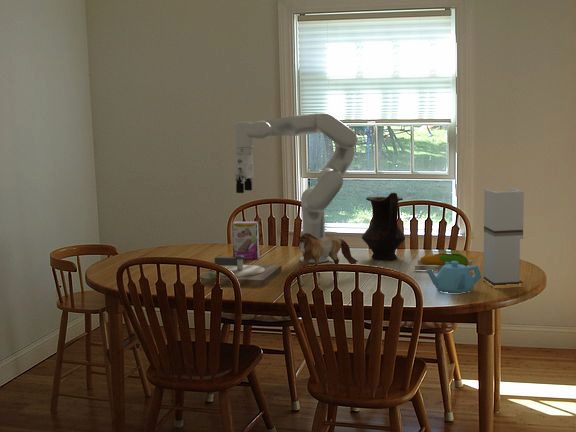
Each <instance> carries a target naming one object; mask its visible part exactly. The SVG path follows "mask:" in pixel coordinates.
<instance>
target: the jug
mask: <svg viewBox="0 0 576 432" xmlns="http://www.w3.org/2000/svg"><path fill="white" fill-rule="evenodd" d="M365 200H367V201H370V204H371V209H372V215H371V216H372V221H371V223H370V226H369V227H368V228H367V229H366V231H365V232H363V234H362V236H361V239H362V241H363V242H364V243H365V244H366V245H367V247H368V248H369V249H370V250H371V251H372V255H371V259H372V260H375V261H380V262H381V261H383V262H384V261H385V262H386V261H387V262H388V261H396V260H398V256H397V254H396V250H397V249H398V248H399V247H400V246H401V244H402V243H403V242H404V241H405V240H406V236H405V234H404V232H403V231H402V229H401V227H400V226H399V225H398V216H399V215H398V213H399V210H398V209H399V201H403V200H404V199H403V197H400V196H398V193H397V192H390V193H389V194H388V195H387V196H367V197H365Z"/></svg>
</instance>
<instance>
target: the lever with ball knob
mask: <svg viewBox="0 0 576 432" xmlns="http://www.w3.org/2000/svg"><path fill="white" fill-rule="evenodd" d="M243 258H244V255H236V256H235V257H233V256H230V257H229V256H215V257H214V265H215V264H218V265H227V266H237V270H243V264H244V263H243V262H244V259H243Z"/></svg>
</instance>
